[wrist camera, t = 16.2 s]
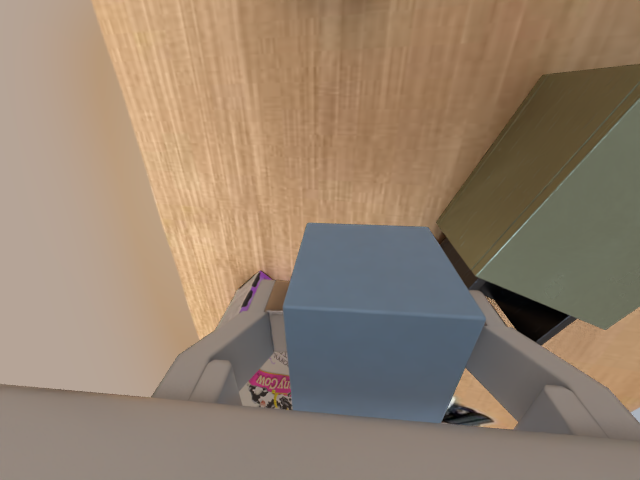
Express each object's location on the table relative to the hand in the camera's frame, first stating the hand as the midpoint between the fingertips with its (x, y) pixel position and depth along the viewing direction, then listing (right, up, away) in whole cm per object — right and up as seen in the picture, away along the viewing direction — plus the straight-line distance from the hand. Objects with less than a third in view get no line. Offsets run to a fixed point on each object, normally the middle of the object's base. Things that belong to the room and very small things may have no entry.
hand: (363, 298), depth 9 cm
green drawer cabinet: (+20, +7, +16) cm, 26 cm away
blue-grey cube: (0, +1, +1) cm, 2 cm away
